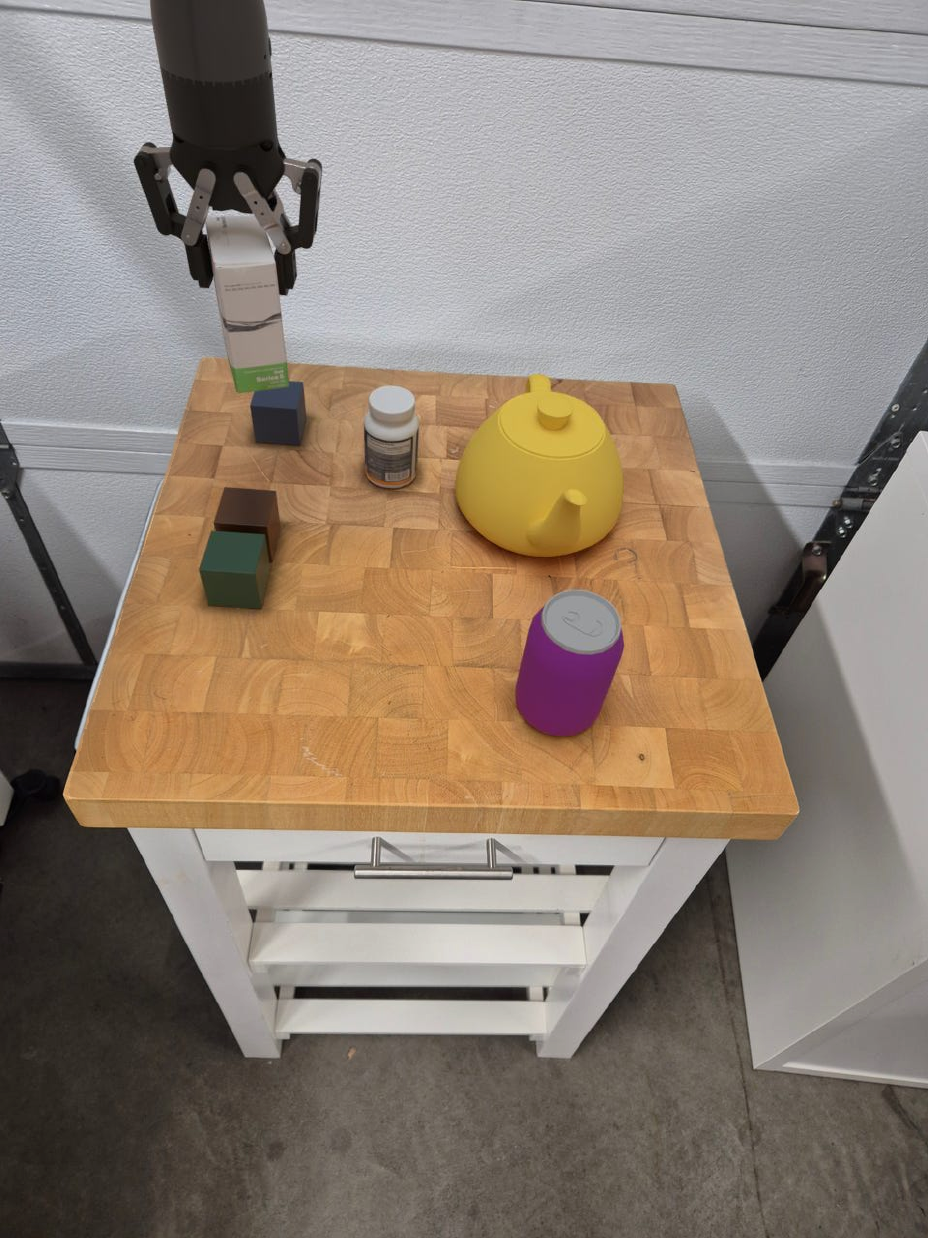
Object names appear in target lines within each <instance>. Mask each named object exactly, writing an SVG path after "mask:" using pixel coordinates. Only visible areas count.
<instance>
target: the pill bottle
mask: <svg viewBox="0 0 928 1238" xmlns="http://www.w3.org/2000/svg"><path fill="white" fill-rule="evenodd" d="M415 411H416V398H415V396H414V394H413V393H412V392H411V391H410V390H409V389H407V388H405V387H403V386H399V385H389V384H387V385H383V386H379V387H377V388H375V389H374V390H373V391H372V392H371V393H370V394H369V397H368V411H367V413H366V414H365V416H364V418H363V419H364V420H363V445H364V446H363V447H364V451H363V452H364V453H363V454H364V472H365V476H366V477H367V478H368V481H370V482H371V483H373V484H374V485H375V486H378V487H380V488H383V489H399V488H403V487H405V486H408V485H410V483H411V482H413V480H415V478H416V476H417V471H418V458H419V457H418V456H419V434H420V421H419V418H418V416H417V414H416V412H415Z"/></svg>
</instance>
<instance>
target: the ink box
mask: <svg viewBox="0 0 928 1238" xmlns="http://www.w3.org/2000/svg"><path fill="white" fill-rule="evenodd" d="M204 226H205V230H206V234H207V239H208V245H209V251H210V257H211V264H212V271H213V282H214V289H215V296H216V302H217V308H218V314H219V319H220V325H221V331H222V336H223V342H224V347H225V351H226V355H227V356H226V357H227V360H228V364H229V369H230V372H231V377H232V381H233V386H234V389H235V391H236V393H238V394H244V393H254V392H255V391H261V390H269V389H277V388H284V387H289V381H290V379H289V370H288V360H287V359H288V358H287V351H286V350H287V349H286V342H285V341H286V340H285V333H284V324H283V323H284V322H283V314H282V306H281V297H280V296H281V295H279V287H278V279H277V270H276V262H275V259H274V252H273V248H272V246H271V243H270V239H269V235H268V233H267V232H266V230H263V229H262V228H261V226H260V224H259V222H258V221H257V219H256V217H255V215H226V216H221V215H220V216H218V215H217V216H207V218H206V221H205V224H204Z"/></svg>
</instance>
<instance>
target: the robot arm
mask: <svg viewBox="0 0 928 1238" xmlns="http://www.w3.org/2000/svg"><path fill="white" fill-rule="evenodd" d="M149 8H150V9H149V10H150V17H151V23H152V24H151V25H152V30H153V36H154V42H155V46H156V54H157V59H158V64H159V70H160V74H161V80H162V84H163V85H162V86H163V90H164V91H163V92H164V97H165V103H166V109H167V114H168V118H169V124H170V129H171V133H172V143H171V146H161V147H160V146H159V147H158V146H157V145H156V144H155V143H154V142H150V141H146V142H144V143H143V145H141V147H140V149H139V150H138V152H137V153H136V155H135V156H134V158H133V165H134V168H135V171H136V174H137V176H138V180H139V182H140V185H141V187H142V188H141V189H142V190H143V193H144V196H145V199H146V202H147V205H148V206H149V211H150V213H151V216H152V218H153V222H154V224H155V227H156V230H157V231H158V233H160V234H161V235H162V236H166V237H167V236H170V235H171V236H173V237H176V238H178V239H179V240H180V241H181V242H182V244H183V245H184V249H185V250H184V251H185V253H186V254H185V255H186V259H187V266H188V271H189V275H190V277H191V279H192V280H193V281H198V286H199V288H202V289H210V288H211V285H212V283H213V281H214V277H213V271H212V264H211V257H210V251H209V244H208V237H207V233H204V232H203V231H204V227H205V221H206V218H208V215H209V212H210V209H211V210H212V211H216V212H227V211H235V212H238V213H241V214H246V215H253V216H255V217H256V219H257V221H258V222H259V224H260V226H261V228H262V229H263V230H266V232H267V235H268V238H270V239H269V240H271V242H272V244H273V246H274V248H275V250H274V252H273V255H274V259H275V262H276V270H277V279H278V287H279V296H283V297H284V296H288V295H289V291H290V290H294V286H295V284H296V280H297V277H298V270H297V269H298V267H297V257H296V250H298V249H301V248H302V249H304V250H308V249H310V248H312V247H313V244H314V241H315V236H316V234H317V231H318V223H319V209H320V200H321V199H320V197H321V188H322V176H323V165H322V163H321V161H320V160H319V159H317V158H310V159H308V160H307V162H306V161H302V160H297V159H293V158H289V157H287V156H286V153H285V151H284V150H283V148H282V146H281V144H280V140H279V135H278V123H277V114H276V113H277V112H276V102H275V90H274V79H273V68H272V55H273V52H272V51H273V50H272V41H271V37H270V35H269V34H270V33H269V26H268V25H269V24H268V17H267V12H266V11H267V10H266V6H265V1H264V0H149ZM172 166H173V167H174V169H175V170H176V171H177V172H178V174H179V175H180V177H182V178H183V180H184V181H185V182H186V183H187V185H188V186H189V187H190V188H191V189H192V190H193V193H192V196H191V200H190V203H189V206H188V209H187V213H186V215H185V214H182V213H180V212H179V208H178V206H177V203H176V200H175V199H176V198H175V196H174V193H173V189H172V187H171V184H170V181H169V177H170V175H171V173H172ZM284 176H285V177H287V178H288V179H289V181H290V183H291V187H292V190H293V192H294V193H295V194H297V195H300V199H299V212H298V213H299V214H298V224H296V225H293V224H292V223H291V221H290V219H289V217H288V215H287V213H286V211H285V206H284V203H283V201H282V200H281V197H280V195H279V194H278V192H277V190H276V188H277V186H278V184H279V183H280V181H281V180H282V178H283V177H284Z"/></svg>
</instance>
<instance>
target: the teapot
mask: <svg viewBox="0 0 928 1238" xmlns="http://www.w3.org/2000/svg"><path fill="white" fill-rule="evenodd" d="M524 389H525V390H524V393H522V394H518V395H517V396H514V397H512V398H510V399H508V400H507V401H506V402H504V403H503V404H502V405H501V406H500V407H498V408H497V409H496V410H495V411H494V412H493V413H491V415H490V416H489V417H488V418H486V419H485V421H484V422H483V423H482V424H480V426H479V427H478V429H476V430H475V432H474V433H473V435H472V436H471V438H470V440H469V441H468V443H467V444H466V446H465V448H464V451H463V453H462V454H461V458H460V460H459V462H458V466H457V468H456V469H457V470H456V475H455V482H454V492H455V497H456V501H457V503H458V506H459V508H460V511H461V513H462V514H463V516H464V518H465V519H466V520H467V522H468V523H469V525H471V527H473V528H474V529H475V530H476V531H477V532H478V533H479V534H480V535H482V536H483V537H484V538H485V539H487V540H488V541H489V542H491V543H493V544H494V545H496V546H498V547H500V548H502V549H504V550H506V551H508V552H512V553H514V554H517V555H522V556H525V557H526V556H527V557H535V558H554V557H561V556H566V555H570V554H573V553H577V552H579V551H582V550H585V549H587V548H590V547H592V546H593V545H596V544H597V543H599V542H600V541H601V540H603V539H604V538H605V537H606V536H607V535H608V534H609V533H610V532H611V531H612V530H613V528H614V527H615V525H616V524H617V522H618V520H619V517H620V515H621V511H622V507H623V502H624V495H625V493H624V492H625V489H624V487H625V486H624V485H625V482H624V481H625V479H624V471H623V465H622V461H621V457H620V454H619V451H618V449H617V446H616V444H615V441H614V438H613V437H612V435H611V432H610V431H609V428H608V427H607V425H606V423H605V421H604V419H603V418H602V417H601V416H600V414H599V413H598V412H597V410H595V409H594V407H592V406H590V405H589V404H588V403H587V402H585V401H583V400H581V399H579V398H578V397H574V396H572V395H569V394H566V393H563V392H562V393H561V392H557V391H552V382H551V379H550V377H549V376H548V375H546V374H542V373H532V374H530V375H529V376H528V377H527V379H526V384H525V388H524Z"/></svg>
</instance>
